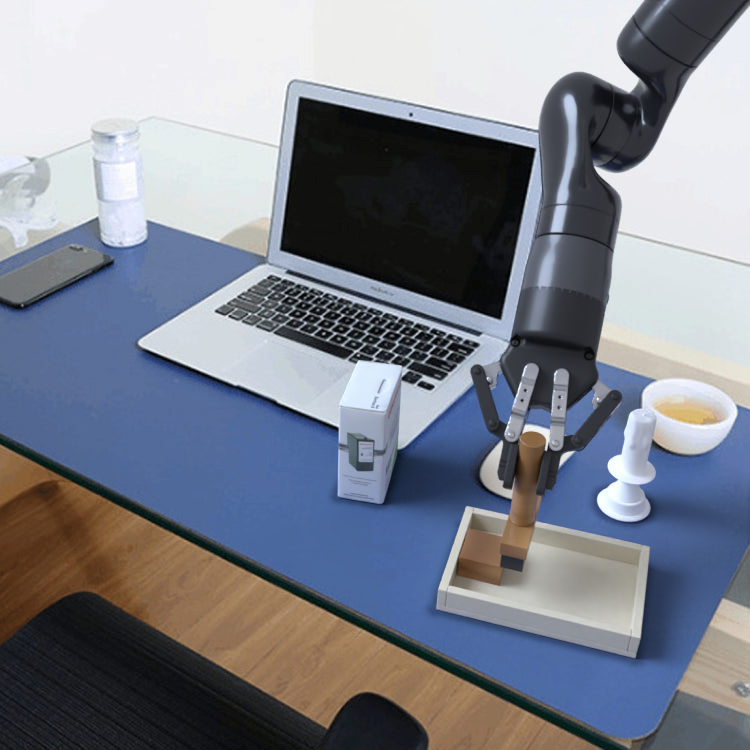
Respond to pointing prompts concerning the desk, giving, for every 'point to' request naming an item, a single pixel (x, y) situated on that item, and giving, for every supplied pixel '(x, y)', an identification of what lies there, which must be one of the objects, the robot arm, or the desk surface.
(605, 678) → the desk surface
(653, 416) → the candle
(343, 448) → the ink box
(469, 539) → the brown block
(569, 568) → the tray
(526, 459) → the brush
